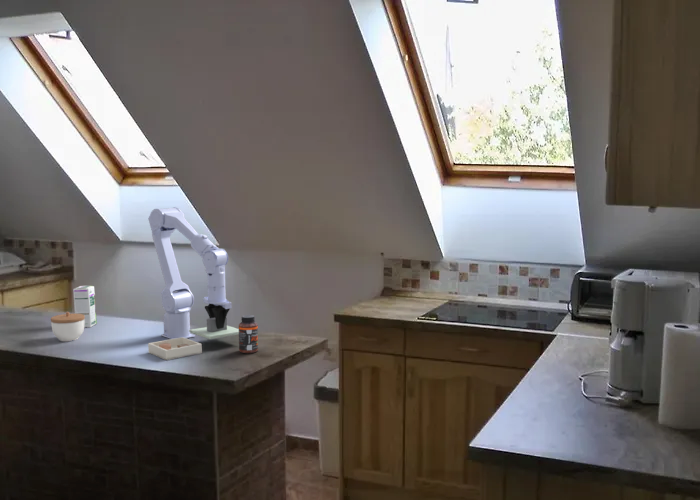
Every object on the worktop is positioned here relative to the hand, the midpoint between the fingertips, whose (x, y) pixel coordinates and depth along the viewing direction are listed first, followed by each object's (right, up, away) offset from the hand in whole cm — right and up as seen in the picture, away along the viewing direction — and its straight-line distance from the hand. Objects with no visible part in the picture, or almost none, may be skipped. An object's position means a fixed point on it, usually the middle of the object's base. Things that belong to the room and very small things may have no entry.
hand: (217, 327), depth 235 cm
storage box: (-11, -7, -10) cm, 17 cm away
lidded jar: (-52, -5, +8) cm, 53 cm away
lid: (0, -2, 0) cm, 2 cm away
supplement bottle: (+11, -7, -9) cm, 16 cm away
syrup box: (-53, -3, +28) cm, 60 cm away
